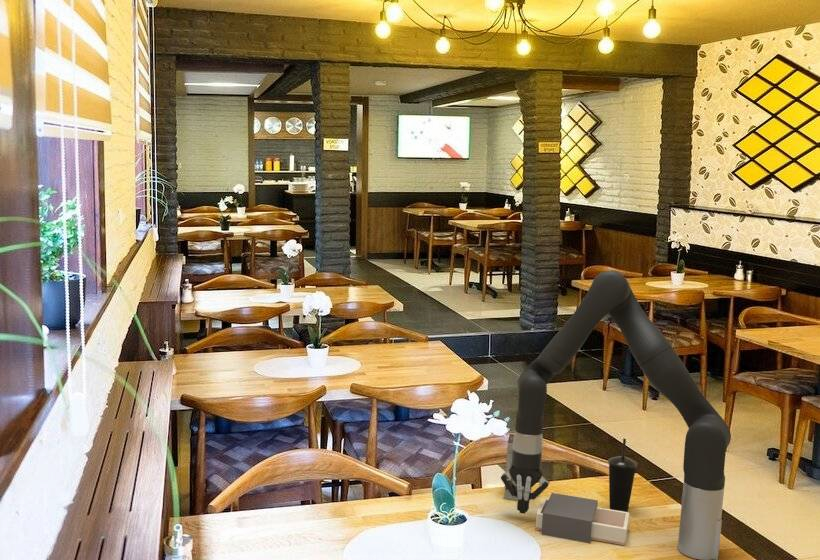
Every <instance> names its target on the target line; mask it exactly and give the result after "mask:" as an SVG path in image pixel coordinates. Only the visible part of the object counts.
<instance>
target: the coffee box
mask: <svg viewBox="0 0 820 560" xmlns="http://www.w3.org/2000/svg"><path fill="white" fill-rule="evenodd" d="M513 438H514V433H512V434H511V433H509V436H508V440H507V447H506V448H507V449H506V459H505V461H506V462H505V463H506V464H505V473H507V472H508V471H509V469H510V468H511V465H512V451H513ZM511 481H512V483H513V484H514V486H515V487H516V489H517V484H516V483H515V482H514V480H513V478H512V477H511ZM524 494H525V487H524ZM503 499H505V500H512V501H518V498H517V497H516V496H512V495H511V494H510V492H509V491H508V489H507V487H506V486H505V485H504V492H503Z"/></svg>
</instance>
